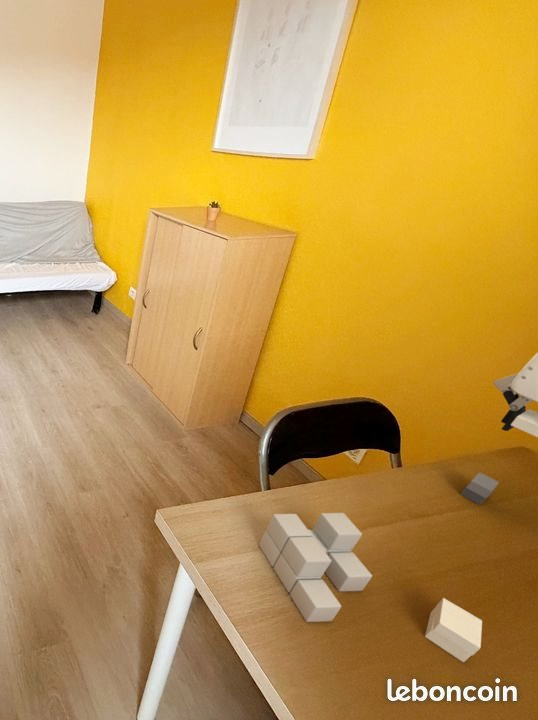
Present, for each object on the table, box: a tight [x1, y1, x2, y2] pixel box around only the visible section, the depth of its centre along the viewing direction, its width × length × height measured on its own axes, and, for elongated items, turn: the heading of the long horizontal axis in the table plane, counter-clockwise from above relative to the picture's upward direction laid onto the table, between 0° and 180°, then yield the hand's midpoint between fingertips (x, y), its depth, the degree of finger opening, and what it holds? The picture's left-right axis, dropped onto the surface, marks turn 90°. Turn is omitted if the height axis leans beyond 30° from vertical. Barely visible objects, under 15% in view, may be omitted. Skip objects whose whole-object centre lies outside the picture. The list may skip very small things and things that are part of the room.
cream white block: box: [511, 408, 538, 438], centre depth 70 cm, size 5×4×2 cm
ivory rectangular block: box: [424, 597, 483, 663], centre depth 58 cm, size 5×4×4 cm
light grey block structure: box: [258, 512, 373, 623], centre depth 64 cm, size 12×12×8 cm
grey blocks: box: [460, 472, 500, 506], centre depth 80 cm, size 5×3×4 cm, turn 116°
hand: (526, 436), depth 71 cm, fingers closed on cream white block, 4 cm apart
